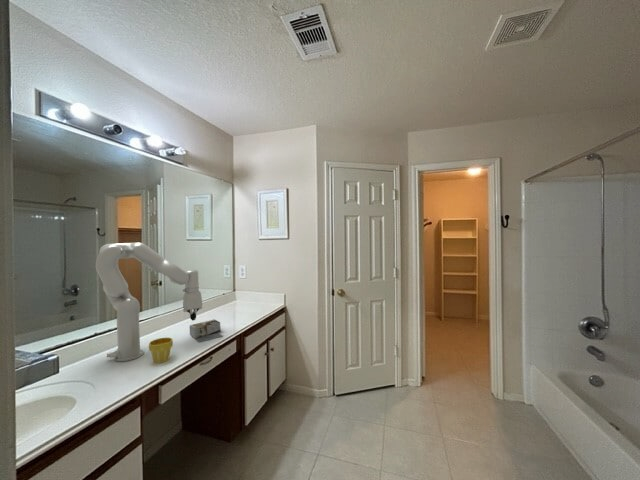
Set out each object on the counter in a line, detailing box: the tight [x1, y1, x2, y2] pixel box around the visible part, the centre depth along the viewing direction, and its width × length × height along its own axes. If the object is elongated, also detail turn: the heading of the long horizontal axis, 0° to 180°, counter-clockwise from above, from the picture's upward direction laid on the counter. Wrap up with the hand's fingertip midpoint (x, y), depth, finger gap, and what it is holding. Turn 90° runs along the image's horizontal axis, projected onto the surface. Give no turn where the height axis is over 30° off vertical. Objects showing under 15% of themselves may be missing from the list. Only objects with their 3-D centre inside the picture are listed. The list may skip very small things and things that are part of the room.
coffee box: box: [189, 318, 222, 339], centre depth 171 cm, size 9×6×16 cm
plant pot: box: [148, 337, 174, 364], centre depth 136 cm, size 10×10×10 cm
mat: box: [194, 332, 224, 343], centre depth 170 cm, size 14×20×1 cm
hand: (193, 319), depth 165 cm, fingers closed
